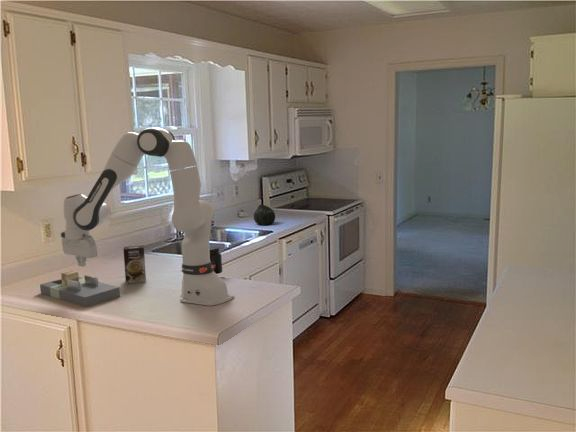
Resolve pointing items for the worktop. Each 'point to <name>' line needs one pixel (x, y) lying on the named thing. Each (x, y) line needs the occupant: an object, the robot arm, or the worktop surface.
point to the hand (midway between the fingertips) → (82, 266)
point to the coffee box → (134, 264)
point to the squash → (264, 215)
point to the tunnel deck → (81, 291)
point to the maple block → (69, 276)
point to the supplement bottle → (216, 259)
